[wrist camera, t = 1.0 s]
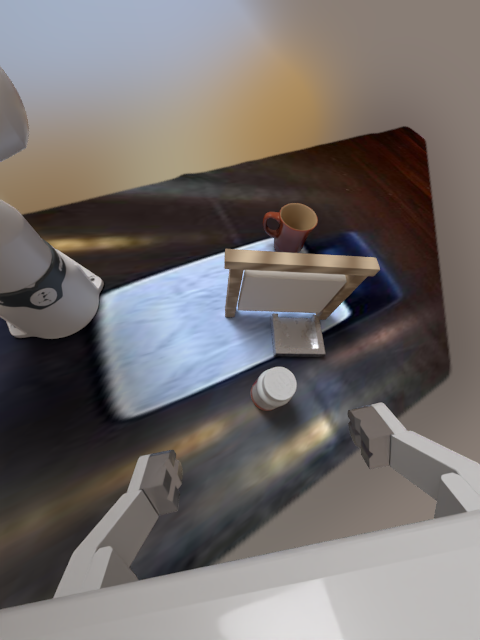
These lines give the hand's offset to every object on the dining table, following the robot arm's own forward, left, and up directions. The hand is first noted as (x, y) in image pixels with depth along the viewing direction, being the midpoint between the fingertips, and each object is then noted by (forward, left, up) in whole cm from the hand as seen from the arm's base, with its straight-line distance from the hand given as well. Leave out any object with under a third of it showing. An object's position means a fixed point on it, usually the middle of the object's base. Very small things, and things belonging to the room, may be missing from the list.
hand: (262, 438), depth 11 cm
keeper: (-4, +25, -36) cm, 44 cm away
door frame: (-10, +26, -36) cm, 45 cm away
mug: (-22, +42, -36) cm, 59 cm away
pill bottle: (0, +11, -36) cm, 38 cm away
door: (-10, +27, -33) cm, 44 cm away
